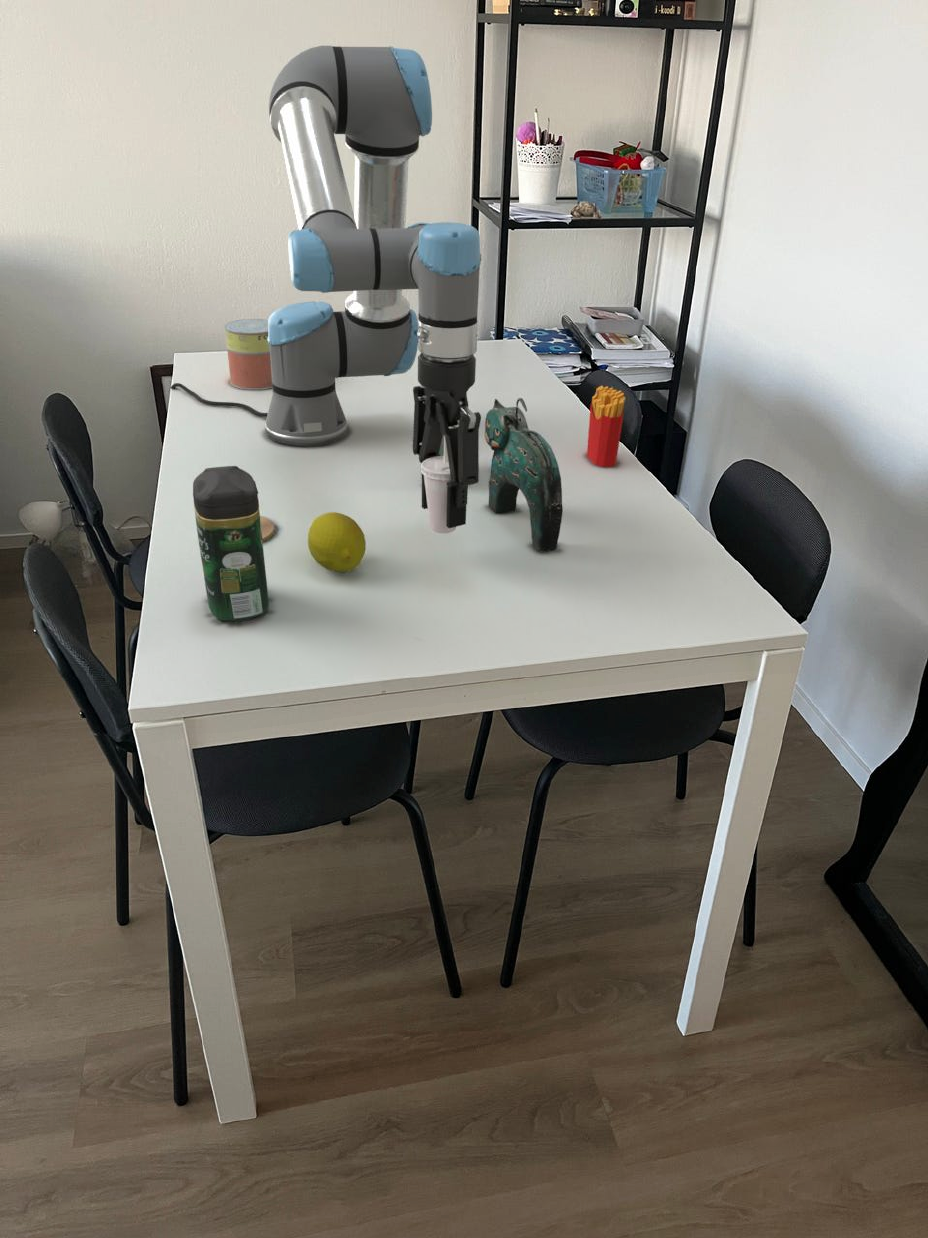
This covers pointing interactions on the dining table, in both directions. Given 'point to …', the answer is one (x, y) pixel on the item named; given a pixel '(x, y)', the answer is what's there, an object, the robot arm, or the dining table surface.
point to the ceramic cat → (524, 473)
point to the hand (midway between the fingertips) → (443, 515)
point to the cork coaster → (266, 528)
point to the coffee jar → (231, 543)
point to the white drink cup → (437, 490)
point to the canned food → (249, 354)
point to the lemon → (336, 542)
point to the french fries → (605, 426)
